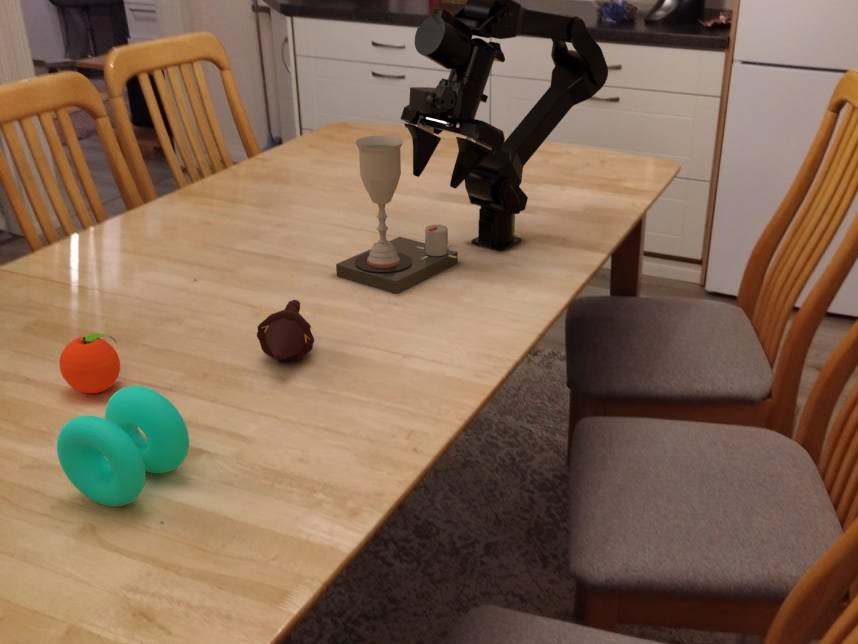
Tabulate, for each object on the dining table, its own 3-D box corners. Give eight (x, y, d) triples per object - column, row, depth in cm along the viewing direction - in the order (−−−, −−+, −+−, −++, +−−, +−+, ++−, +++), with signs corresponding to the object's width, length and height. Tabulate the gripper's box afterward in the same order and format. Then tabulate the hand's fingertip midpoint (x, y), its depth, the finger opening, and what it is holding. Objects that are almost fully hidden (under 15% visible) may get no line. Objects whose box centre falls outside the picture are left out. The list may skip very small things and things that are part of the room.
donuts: (61, 498, 104) (40, 414, 98) (127, 453, 111) (110, 372, 106) (139, 522, 100) (121, 436, 95) (200, 474, 108) (187, 392, 103)
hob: (405, 245, 169) (404, 233, 168) (470, 263, 163) (470, 250, 161) (336, 276, 157) (335, 262, 156) (403, 296, 150) (403, 282, 149)
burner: (379, 248, 162) (379, 247, 162) (423, 260, 158) (423, 259, 157) (342, 264, 156) (342, 263, 155) (387, 277, 151) (387, 276, 151)
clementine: (104, 369, 128) (93, 318, 124) (143, 382, 125) (133, 330, 122) (53, 394, 123) (40, 341, 119) (93, 408, 120) (81, 354, 116)
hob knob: (434, 246, 163) (434, 221, 160) (452, 251, 161) (452, 225, 159) (420, 253, 160) (420, 227, 158) (438, 258, 158) (438, 231, 156)
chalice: (379, 270, 153) (374, 150, 143) (351, 258, 157) (345, 141, 147) (415, 259, 157) (413, 142, 148) (387, 247, 161) (383, 133, 152)
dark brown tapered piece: (312, 338, 122) (325, 300, 136) (252, 323, 121) (270, 287, 134) (302, 389, 126) (315, 347, 139) (243, 375, 124) (261, 334, 138)
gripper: (391, 53, 152) (359, 154, 155) (470, 67, 140) (434, 177, 143) (443, 80, 160) (411, 176, 163) (522, 96, 148) (486, 199, 151)
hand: (433, 181), depth 155 cm, fingers open, 9 cm apart
